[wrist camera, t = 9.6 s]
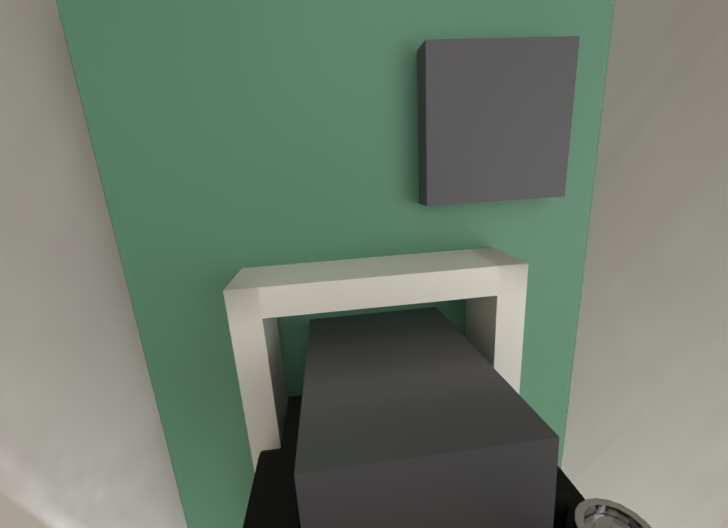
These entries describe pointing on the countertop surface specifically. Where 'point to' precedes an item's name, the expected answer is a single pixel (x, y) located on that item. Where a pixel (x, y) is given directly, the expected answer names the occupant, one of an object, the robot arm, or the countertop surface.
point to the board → (337, 193)
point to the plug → (416, 431)
